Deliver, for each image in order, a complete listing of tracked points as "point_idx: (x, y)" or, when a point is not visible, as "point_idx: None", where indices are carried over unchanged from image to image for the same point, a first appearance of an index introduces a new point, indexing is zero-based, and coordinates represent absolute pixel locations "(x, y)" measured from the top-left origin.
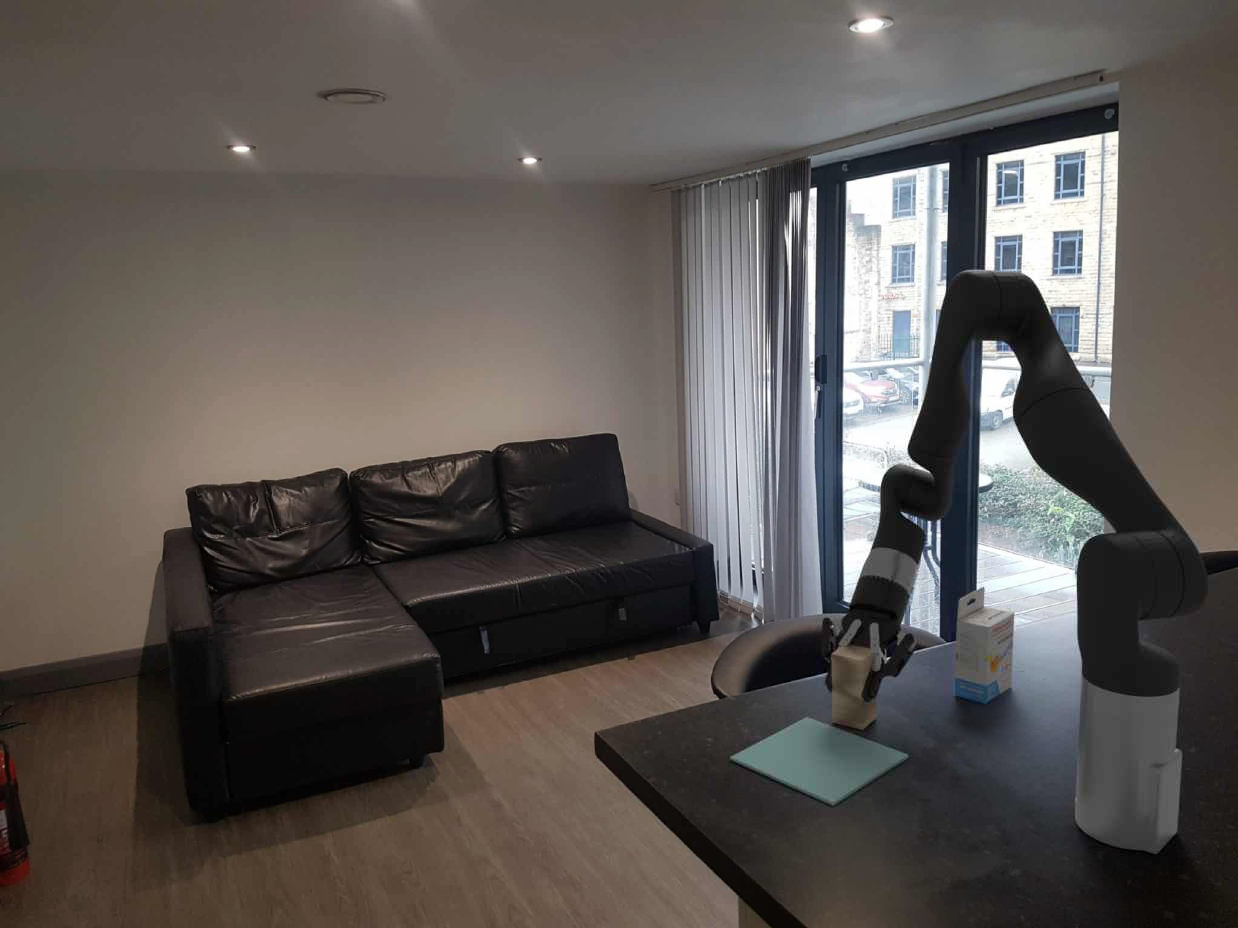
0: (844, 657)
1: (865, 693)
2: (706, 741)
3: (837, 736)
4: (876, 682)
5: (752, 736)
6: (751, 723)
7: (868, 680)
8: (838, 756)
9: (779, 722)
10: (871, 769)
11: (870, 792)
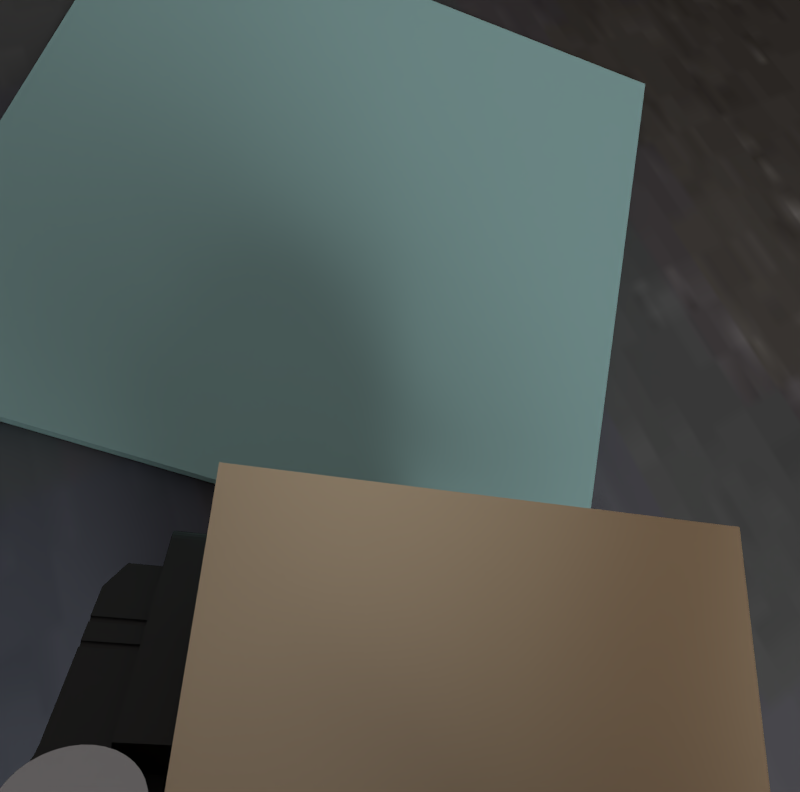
0: (531, 507)
1: (182, 535)
2: (794, 193)
3: (326, 422)
4: (72, 666)
5: (684, 295)
6: (764, 413)
7: (171, 637)
8: (246, 221)
9: (669, 484)
10: (45, 154)
11: (16, 11)
